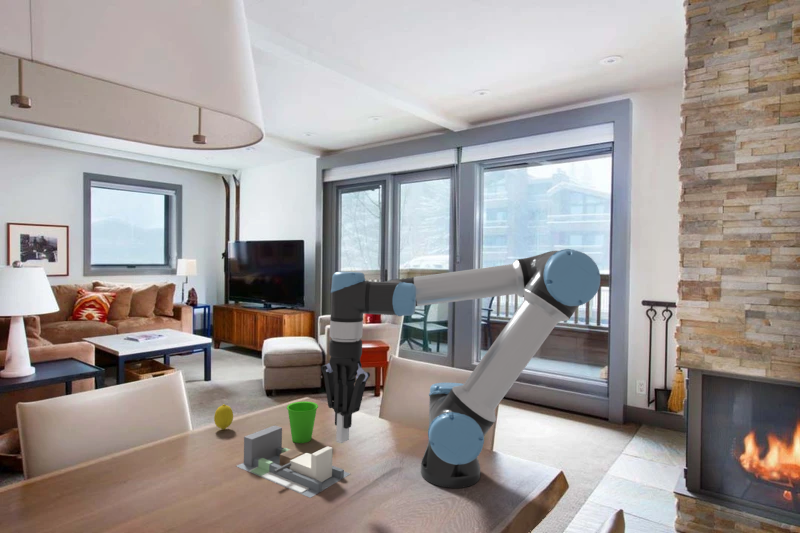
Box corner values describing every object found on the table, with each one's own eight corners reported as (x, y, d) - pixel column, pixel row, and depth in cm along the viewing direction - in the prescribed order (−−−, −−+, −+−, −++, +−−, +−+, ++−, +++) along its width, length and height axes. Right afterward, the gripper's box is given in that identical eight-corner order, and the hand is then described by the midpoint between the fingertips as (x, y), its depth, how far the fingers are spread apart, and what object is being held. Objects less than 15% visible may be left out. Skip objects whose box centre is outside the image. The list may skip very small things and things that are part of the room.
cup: (313, 450, 129) (314, 411, 128) (282, 449, 129) (282, 410, 129) (320, 437, 138) (320, 401, 137) (290, 437, 138) (291, 400, 138)
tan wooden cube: (302, 468, 115) (302, 452, 115) (290, 474, 112) (291, 458, 112) (291, 464, 117) (291, 448, 117) (279, 470, 114) (279, 454, 114)
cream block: (331, 476, 111) (332, 447, 110) (299, 495, 102) (299, 463, 101) (306, 466, 115) (306, 439, 115) (273, 483, 106) (273, 454, 106)
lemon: (236, 429, 143) (237, 403, 143) (221, 434, 138) (221, 408, 138) (225, 425, 146) (225, 400, 146) (210, 430, 141) (210, 405, 141)
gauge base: (350, 478, 113) (351, 445, 113) (310, 503, 101) (310, 466, 101) (278, 451, 127) (278, 422, 127) (235, 470, 115) (236, 438, 115)
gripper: (378, 340, 104) (374, 442, 104) (335, 333, 111) (332, 429, 112) (358, 344, 98) (354, 453, 98) (313, 337, 105) (310, 438, 105)
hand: (342, 440), depth 105 cm, fingers closed
